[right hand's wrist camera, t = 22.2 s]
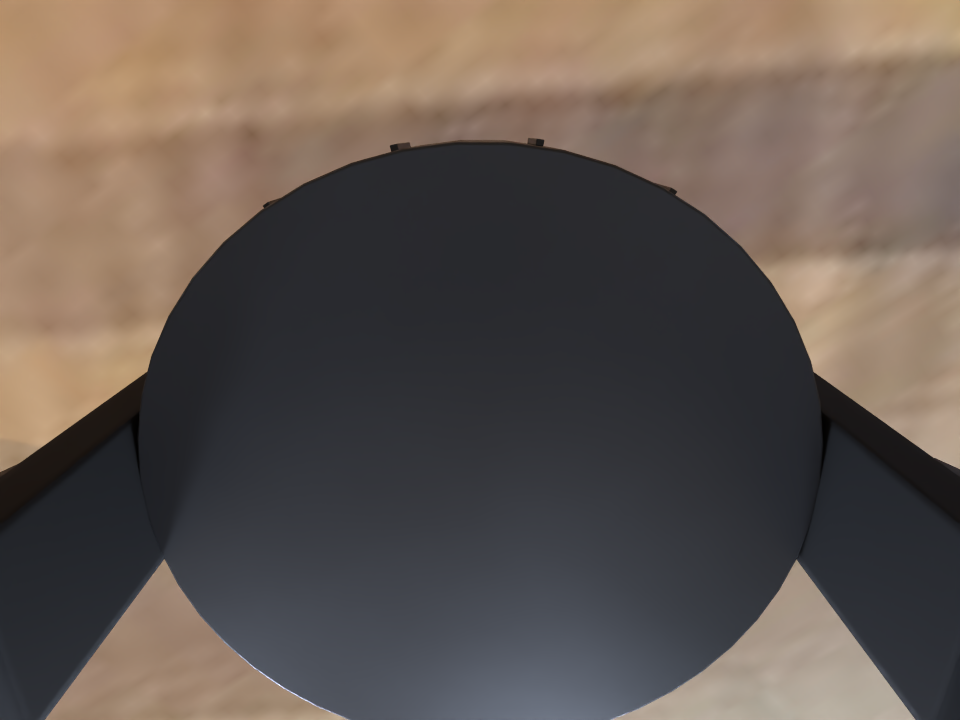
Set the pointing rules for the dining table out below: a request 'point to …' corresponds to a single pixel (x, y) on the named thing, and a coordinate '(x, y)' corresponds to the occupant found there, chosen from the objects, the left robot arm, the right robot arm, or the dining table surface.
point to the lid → (480, 438)
